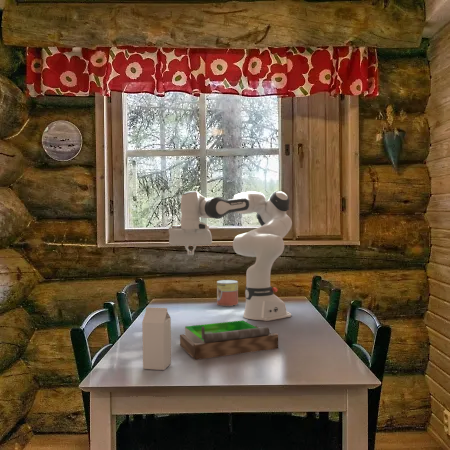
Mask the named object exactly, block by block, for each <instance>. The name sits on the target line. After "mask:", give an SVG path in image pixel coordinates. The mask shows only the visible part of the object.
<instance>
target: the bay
mask: <svg viewBox="0 0 450 450" xmlns="http://www.w3.org/2000/svg"><path fill="white" fill-rule="evenodd" d="M254 326H255V327H257V328H252V329H243V330H235V331H226V332H218V333H209V334H205V327H202V339H204V342H201V343H194V342H192V341H191V340H190V339H189V338H188V337H186V336H185V333H184V334H183V333H182V334H179V346H180V347H181V348H182V349H183V350H184V351H185V352H186V353H188V354H189V356H191V357H192V358H193V359H194V360H196V361H197V360H205V359H210V358H217V357H226V356H232V355H234V356H235V355H240V354H247V353H255V352H260V351H269V350H276V349H279V334H278V333H276V332H275V333H271V330H270V327H269V326H262V327H260V326H257V325H254Z"/></svg>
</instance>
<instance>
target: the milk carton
mask: <svg viewBox="0 0 450 450" xmlns="http://www.w3.org/2000/svg"><path fill="white" fill-rule="evenodd" d="M171 318H172V317H171V315H170V313H169V312H168V308H167V307H153V306H152V307H149V306H148V307H147V306H146V307H145V312H144V316H143V319H142V322H141V324H142V330H141V331H142V334H141V335H142V369H143V370H157V371H165V370H166V369H167V368H168V367H169V366H170V365H171V364H172V328H171V327H172V325H171V323H172V321H171V320H172V319H171Z"/></svg>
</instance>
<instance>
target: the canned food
mask: <svg viewBox="0 0 450 450" xmlns="http://www.w3.org/2000/svg"><path fill="white" fill-rule="evenodd" d="M237 304H238V305H239V281H238V280H234V279H221V280H217V281H216V305H217V306H219V305H220V307H234V306H233V305H235V306H238V305H237Z"/></svg>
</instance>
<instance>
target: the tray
mask: <svg viewBox="0 0 450 450" xmlns="http://www.w3.org/2000/svg"><path fill="white" fill-rule="evenodd" d="M255 326H256V325H253V324H251V323H250V322H248V321H245V320H234V321H223V322H214V323H208V324H207V323H206V324H198V325H197V324H196V325H188V326H184V329H185V330H184V335H185V336H186V337H188V338H189V339H190V340H191V341H192V342H194V343H201V342H204V339H202V327H205V334H209V333H218V332H226V331H235V330H243V329H252V328H257V327H255Z"/></svg>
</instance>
